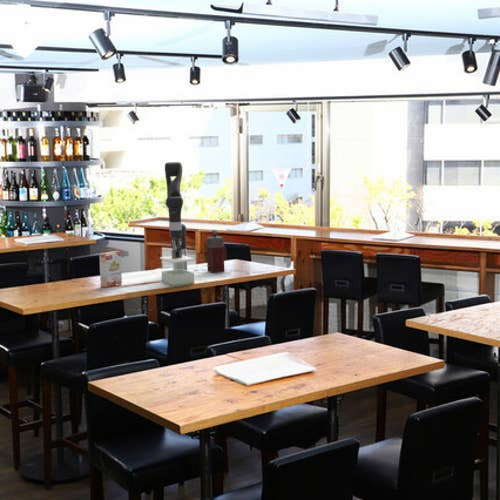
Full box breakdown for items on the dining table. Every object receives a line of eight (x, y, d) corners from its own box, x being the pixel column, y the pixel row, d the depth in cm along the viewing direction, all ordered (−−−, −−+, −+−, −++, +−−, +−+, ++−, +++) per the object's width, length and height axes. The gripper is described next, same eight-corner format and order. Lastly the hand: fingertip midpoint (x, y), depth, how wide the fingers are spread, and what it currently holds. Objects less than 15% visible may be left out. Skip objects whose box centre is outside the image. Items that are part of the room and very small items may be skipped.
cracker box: (107, 287, 520) (105, 254, 518) (100, 287, 524) (98, 253, 521) (122, 284, 532) (121, 251, 529) (115, 283, 535) (113, 250, 533)
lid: (159, 259, 533) (159, 249, 532) (181, 256, 540) (181, 246, 539) (172, 263, 516) (171, 253, 515) (194, 260, 523) (194, 250, 522)
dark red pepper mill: (227, 271, 569) (226, 229, 565) (212, 273, 564) (210, 231, 560) (222, 269, 577) (221, 228, 573) (207, 271, 572) (205, 230, 568)
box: (162, 282, 534) (161, 271, 533) (182, 279, 541) (181, 269, 540) (173, 286, 519) (173, 275, 518) (194, 283, 525) (193, 272, 524)
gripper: (165, 228, 529) (167, 256, 532) (174, 230, 517) (175, 258, 520) (176, 227, 533) (178, 254, 535) (185, 229, 521) (187, 257, 523)
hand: (177, 256), depth 528 cm, fingers closed on lid
